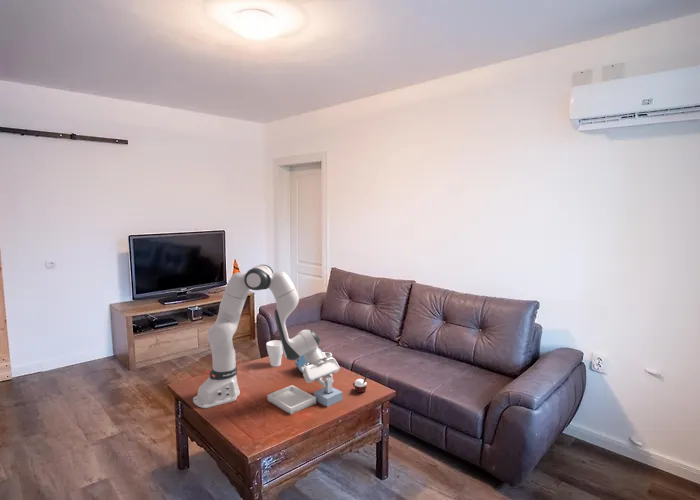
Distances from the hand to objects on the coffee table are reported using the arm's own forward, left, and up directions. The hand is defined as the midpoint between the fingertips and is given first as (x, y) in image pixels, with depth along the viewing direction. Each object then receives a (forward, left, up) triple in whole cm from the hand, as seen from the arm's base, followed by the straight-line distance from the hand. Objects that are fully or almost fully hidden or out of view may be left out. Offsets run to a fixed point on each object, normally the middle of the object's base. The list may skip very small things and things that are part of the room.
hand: (328, 384), depth 198 cm
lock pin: (0, +1, -8) cm, 8 cm away
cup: (+7, +56, -8) cm, 57 cm away
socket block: (0, +1, -8) cm, 8 cm away
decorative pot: (+17, +34, -8) cm, 39 cm away
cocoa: (+18, -4, -8) cm, 20 cm away
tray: (-14, +12, -8) cm, 20 cm away
